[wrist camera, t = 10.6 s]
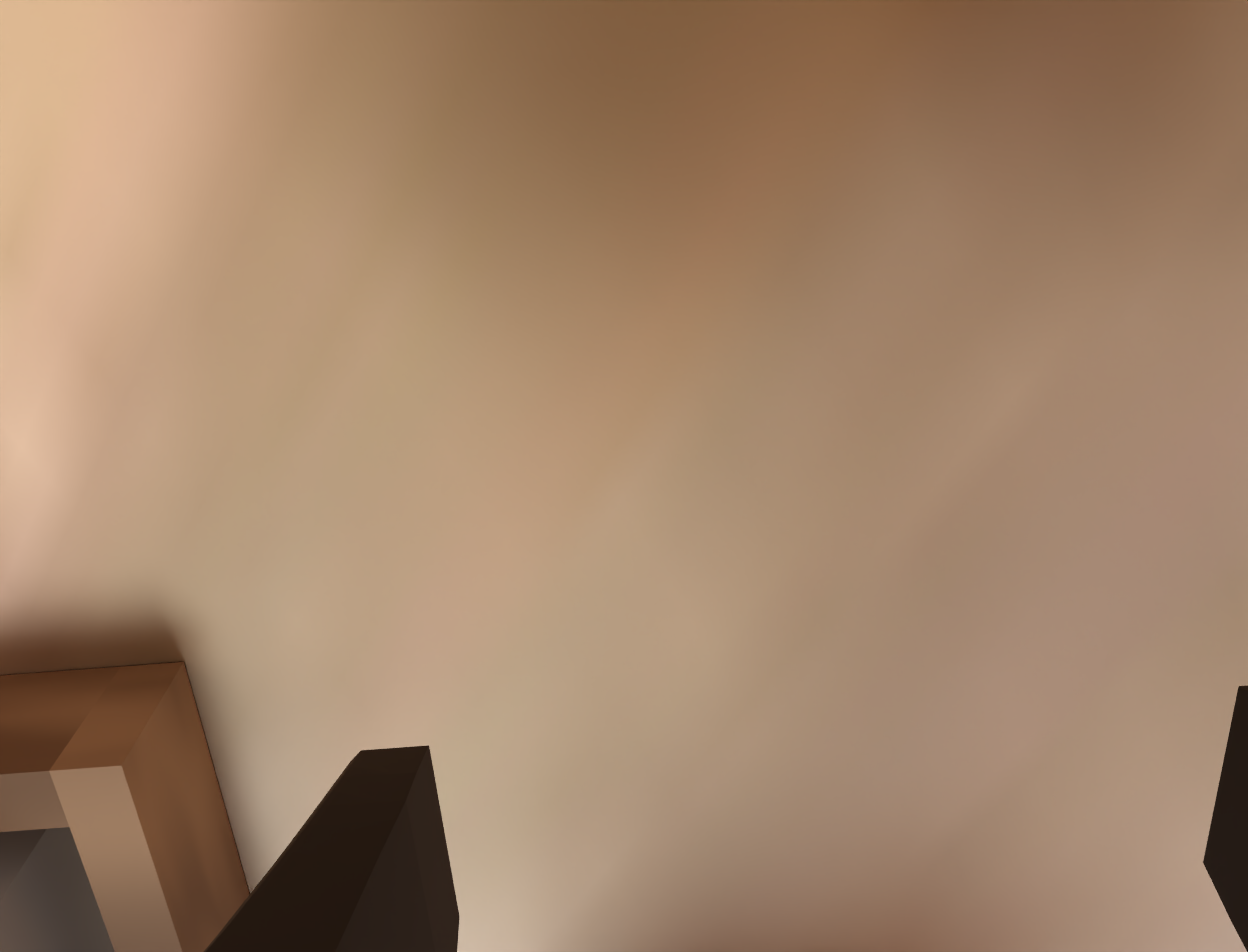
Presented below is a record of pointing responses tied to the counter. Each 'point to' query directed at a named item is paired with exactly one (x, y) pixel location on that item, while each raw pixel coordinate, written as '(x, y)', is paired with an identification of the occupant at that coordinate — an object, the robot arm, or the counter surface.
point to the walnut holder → (125, 797)
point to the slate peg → (47, 895)
